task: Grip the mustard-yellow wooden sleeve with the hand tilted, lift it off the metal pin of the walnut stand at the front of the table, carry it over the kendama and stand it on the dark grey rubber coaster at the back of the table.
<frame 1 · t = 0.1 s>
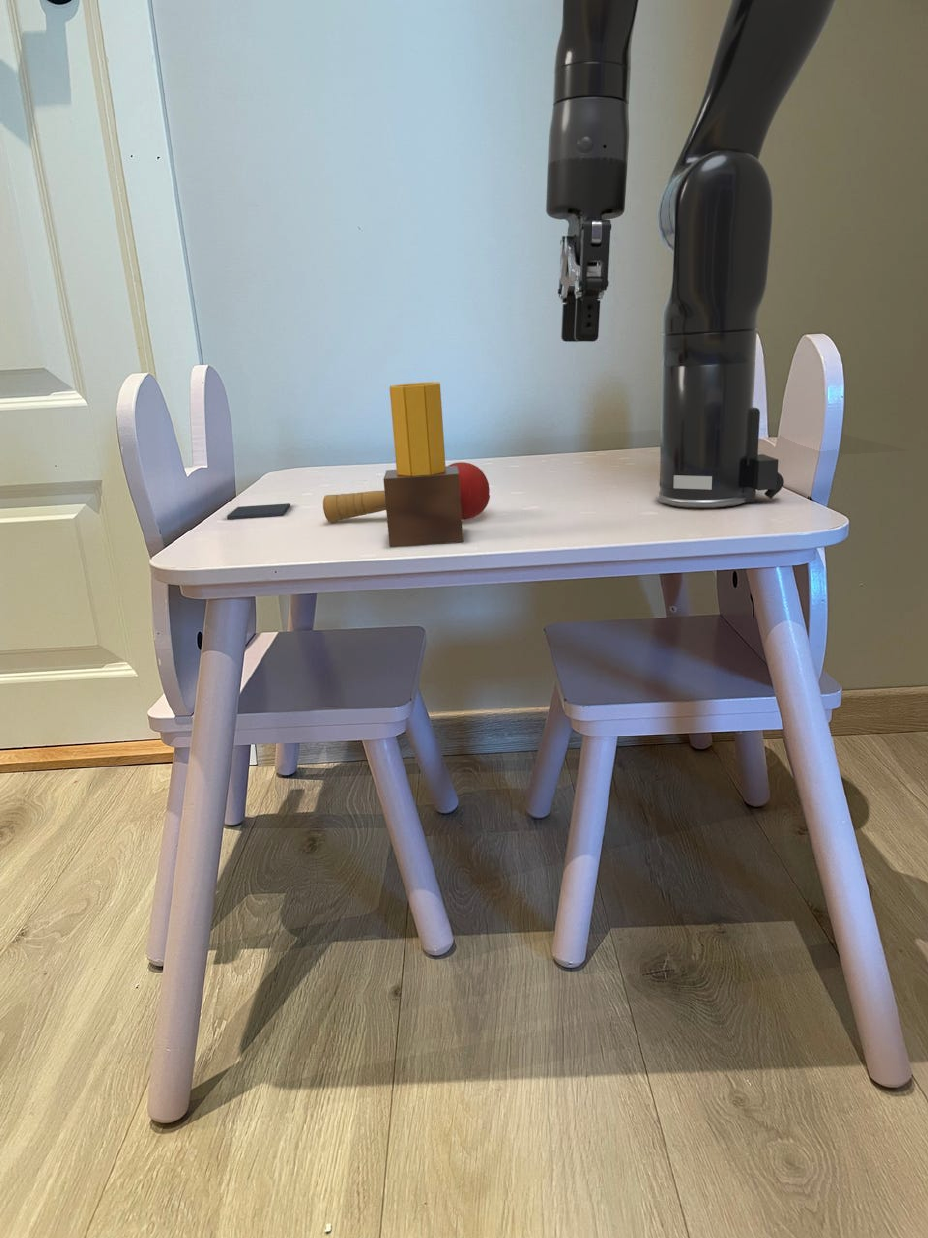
hand: (578, 341, 84), 17 cm above the table, tool pointing down, fingers open, 8 cm apart
kendama: (407, 522, 89), on the table
sleeve: (421, 471, 78), point 6 cm above the table, touching stand
coaster: (259, 512, 99), on the table
stand: (426, 538, 81), on the table
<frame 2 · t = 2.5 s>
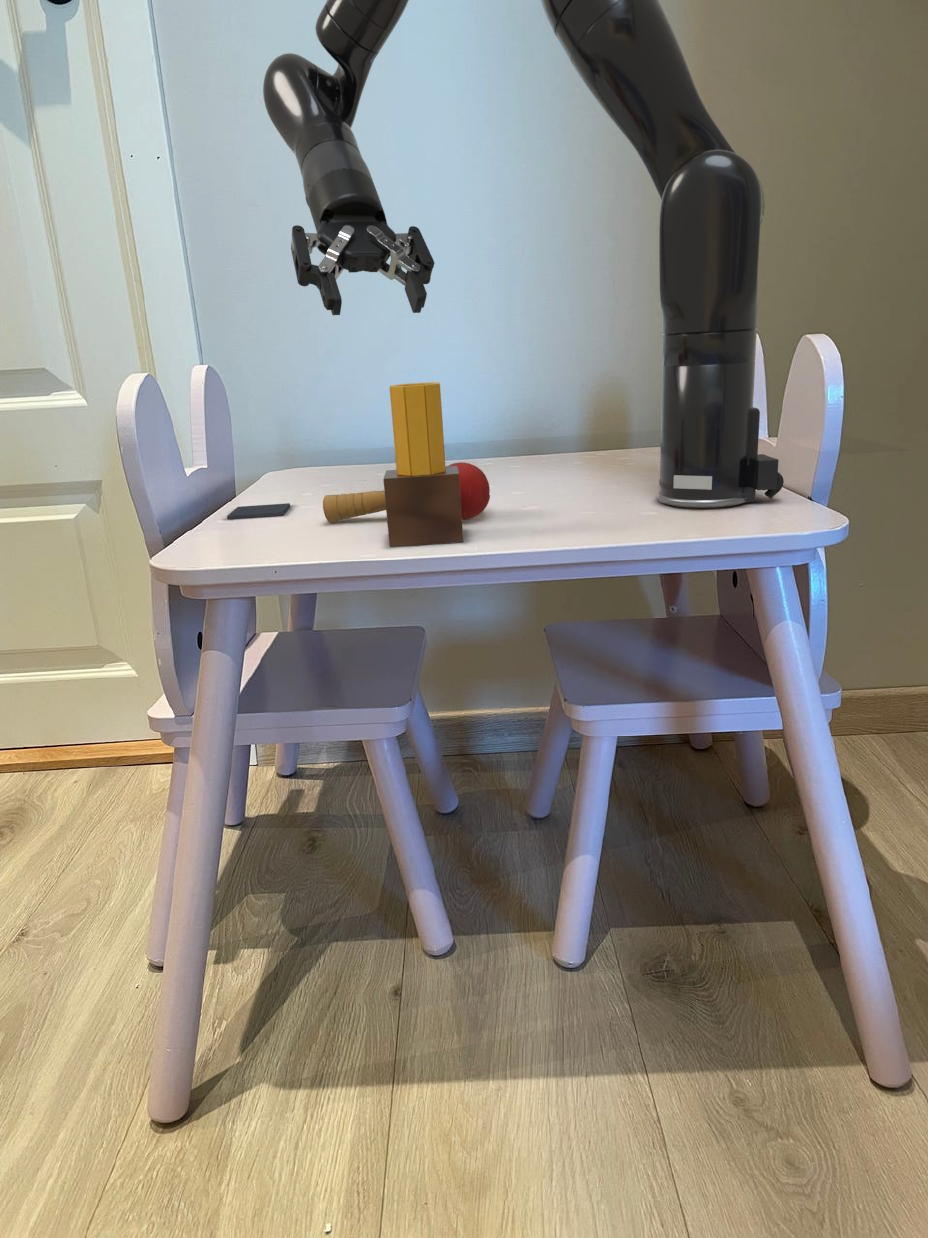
hand: (379, 307, 84), 22 cm above the table, tool tilted 45°, fingers open, 8 cm apart
nothing on the table moved.
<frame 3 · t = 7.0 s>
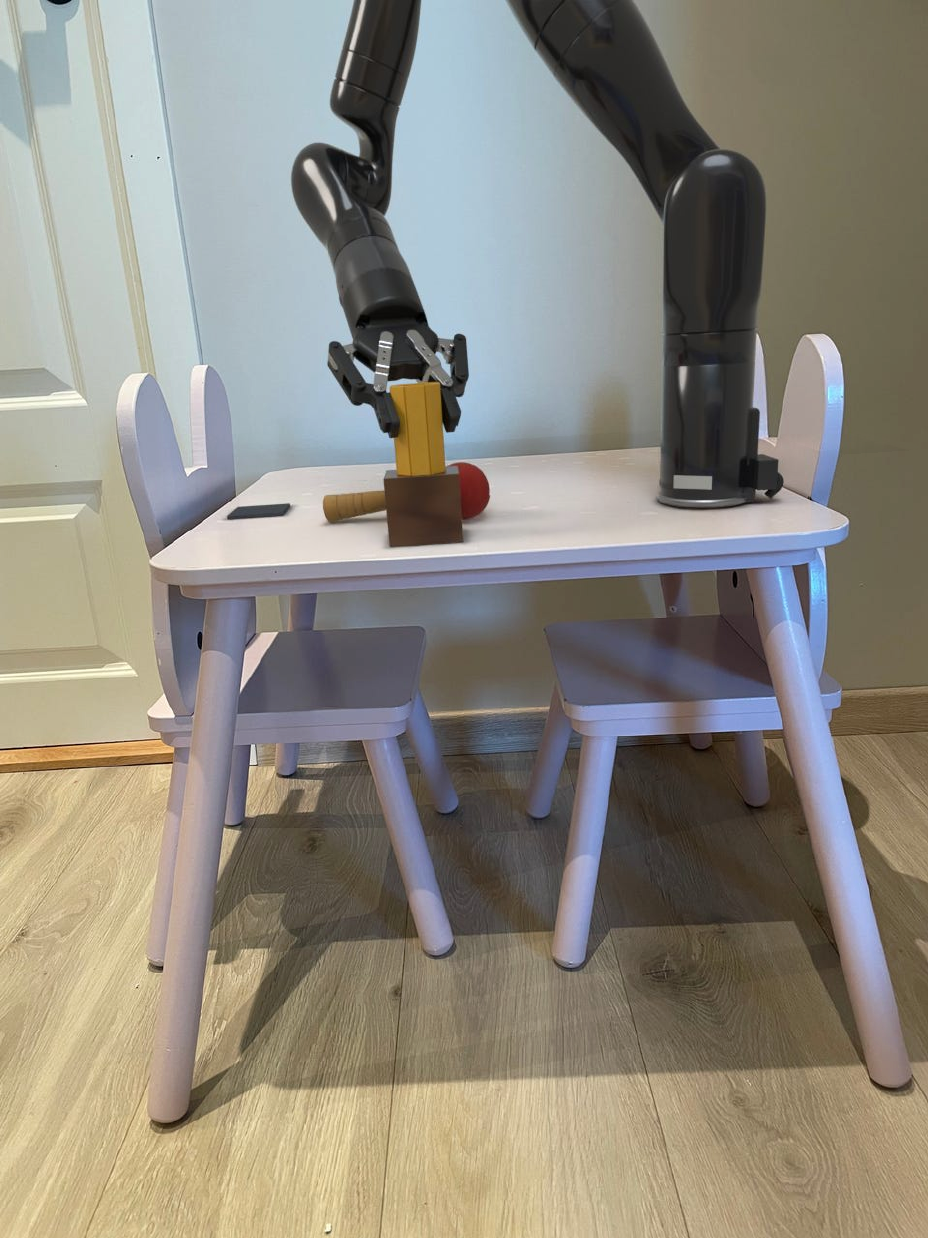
hand: (424, 428, 75), 11 cm above the table, tool tilted 45°, fingers closed on sleeve, 5 cm apart
sleeve: (421, 471, 78), point 7 cm above the table, touching gripper, stand
everything else where it was.
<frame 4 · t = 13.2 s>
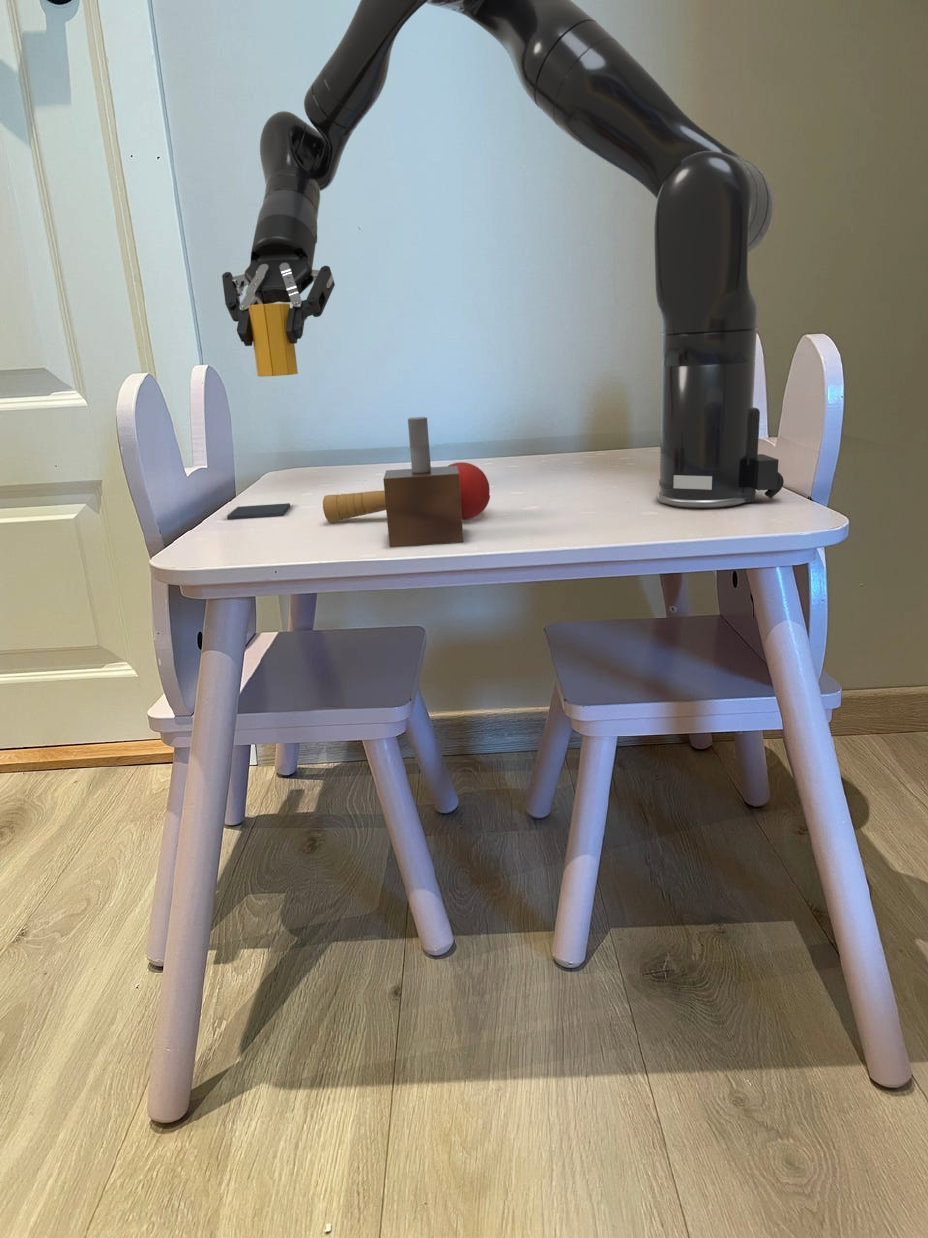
hand: (268, 339, 97), 19 cm above the table, tool tilted 45°, fingers closed on sleeve, 5 cm apart
sleeve: (277, 374, 100), point 15 cm above the table, touching gripper
everything else where it was.
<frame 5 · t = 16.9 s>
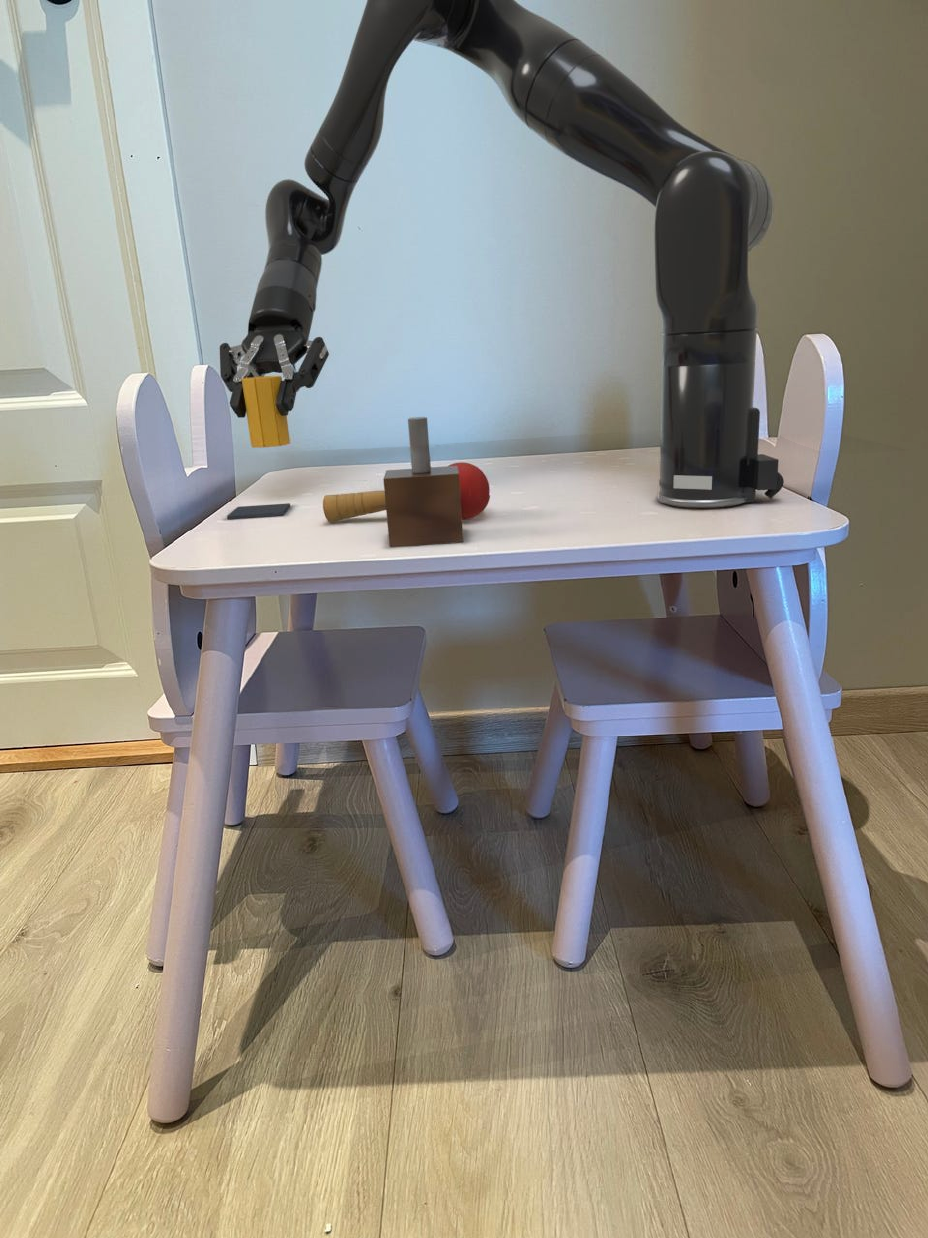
hand: (260, 411, 99), 11 cm above the table, tool tilted 45°, fingers closed on sleeve, 5 cm apart
sleeve: (270, 444, 102), point 7 cm above the table, touching gripper
everything else where it was.
when the fingers open (5 cm above the table, at t = 19.9 s): sleeve stays where it is, resting on coaster.
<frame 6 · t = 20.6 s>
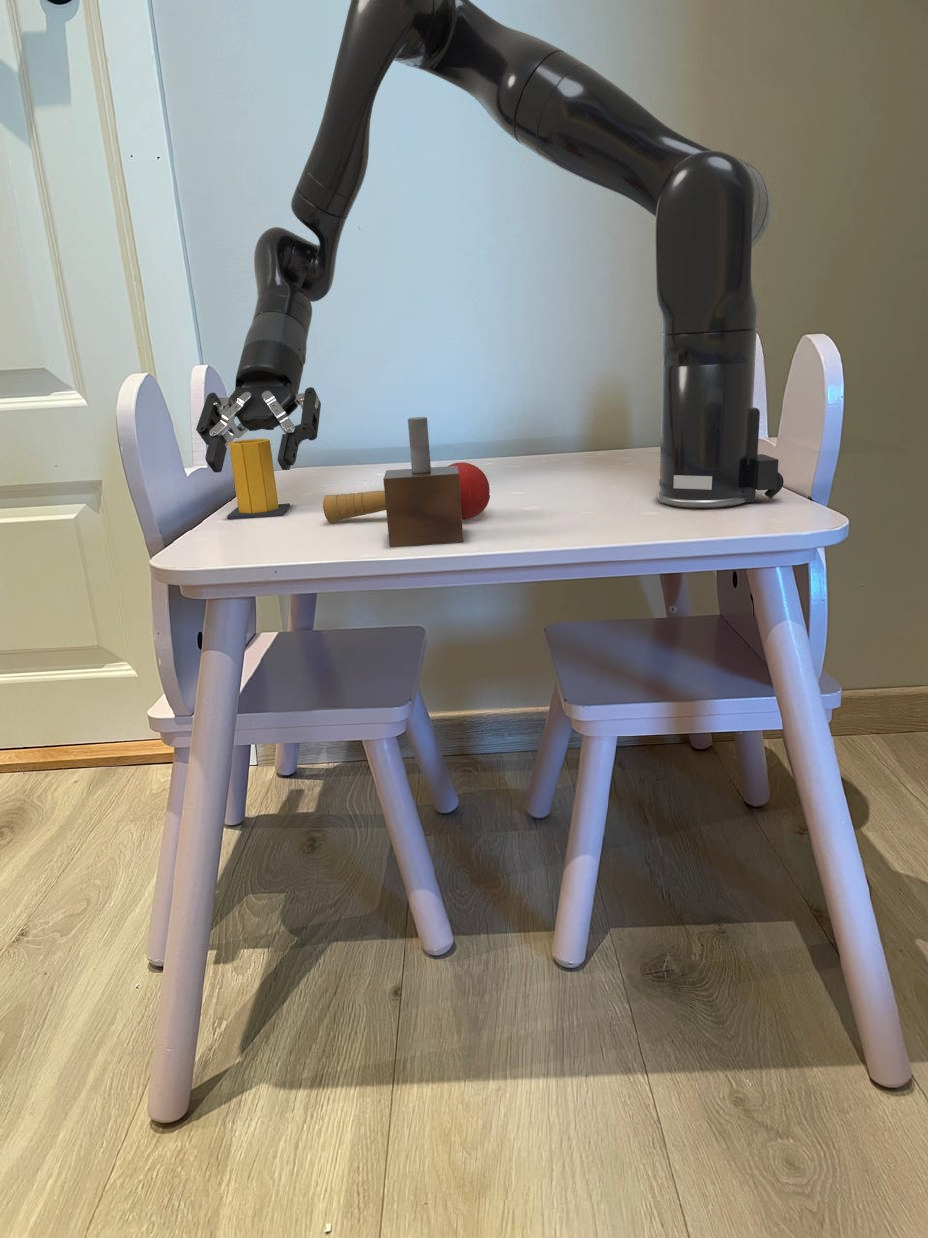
hand: (248, 467, 95), 6 cm above the table, tool tilted 45°, fingers open, 8 cm apart
sleeve: (258, 509, 98), resting on coaster
everything else where it was.
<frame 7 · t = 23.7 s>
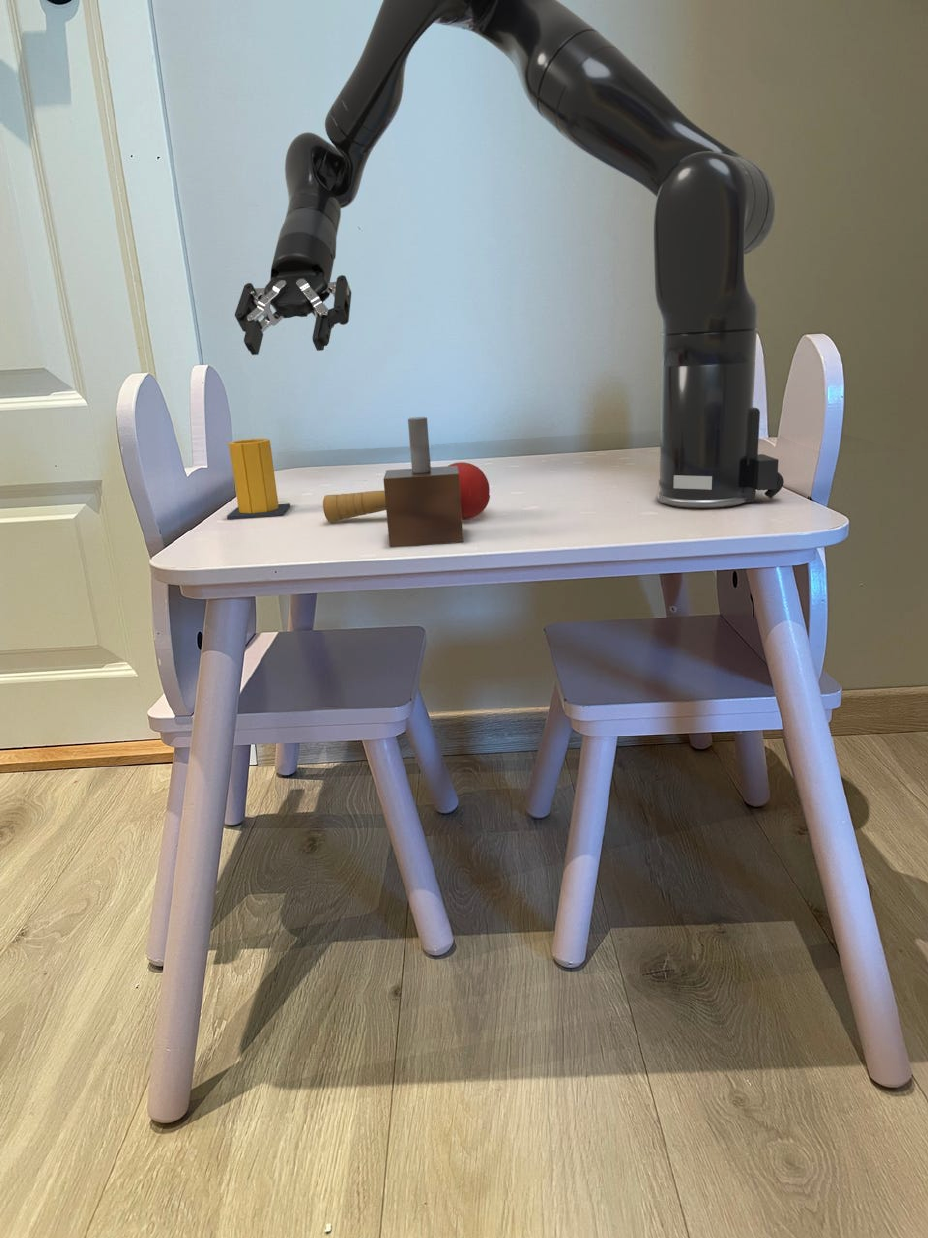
hand: (284, 347, 101), 18 cm above the table, tool tilted 45°, fingers open, 8 cm apart
nothing on the table moved.
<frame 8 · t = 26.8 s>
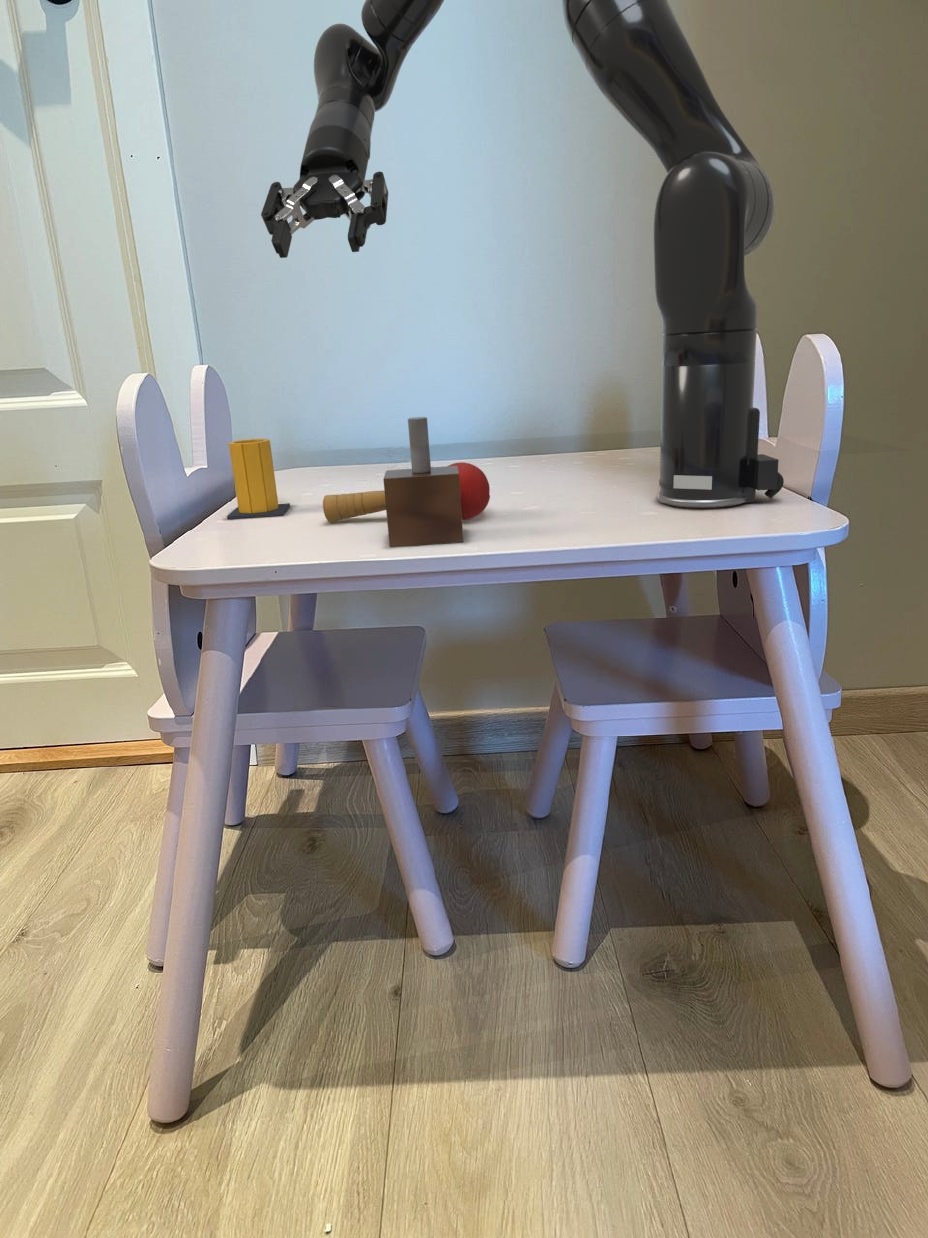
hand: (316, 248, 93), 29 cm above the table, tool tilted 45°, fingers open, 8 cm apart
nothing on the table moved.
at the end: sleeve 0.1 cm off-centre on the coaster, point 0.4 cm above the coaster's base; sleeve tilted 0°; sleeve touching coaster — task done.
